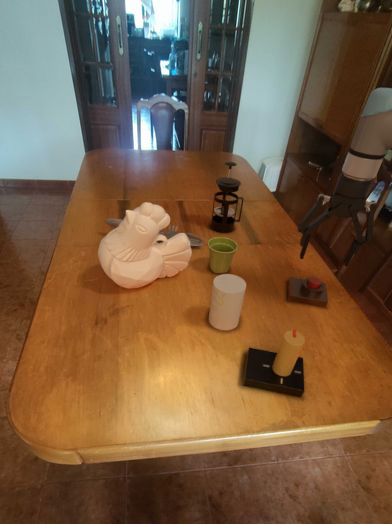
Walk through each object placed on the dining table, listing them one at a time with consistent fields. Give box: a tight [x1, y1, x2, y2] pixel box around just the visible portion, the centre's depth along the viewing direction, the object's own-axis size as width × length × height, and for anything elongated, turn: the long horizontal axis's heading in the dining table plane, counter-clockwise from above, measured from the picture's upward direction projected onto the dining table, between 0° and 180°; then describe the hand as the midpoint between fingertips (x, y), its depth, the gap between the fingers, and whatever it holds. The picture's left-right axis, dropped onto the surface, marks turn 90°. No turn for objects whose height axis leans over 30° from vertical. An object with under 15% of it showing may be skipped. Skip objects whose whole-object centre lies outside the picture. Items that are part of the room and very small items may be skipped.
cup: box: [208, 273, 247, 331], centre depth 82 cm, size 8×8×12 cm
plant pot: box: [207, 236, 239, 275], centre depth 101 cm, size 9×9×9 cm
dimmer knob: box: [272, 329, 306, 376], centre depth 68 cm, size 4×4×10 cm
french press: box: [209, 161, 245, 234], centre depth 116 cm, size 12×9×23 cm
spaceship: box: [104, 217, 205, 247], centre depth 110 cm, size 8×35×8 cm
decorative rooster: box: [97, 201, 193, 289], centre depth 88 cm, size 25×16×25 cm
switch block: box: [287, 276, 329, 308], centre depth 96 cm, size 11×10×4 cm
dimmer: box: [242, 347, 305, 398], centre depth 73 cm, size 13×10×3 cm
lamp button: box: [307, 276, 322, 289], centre depth 94 cm, size 4×4×2 cm
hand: (323, 260), depth 88 cm, fingers open, 11 cm apart
